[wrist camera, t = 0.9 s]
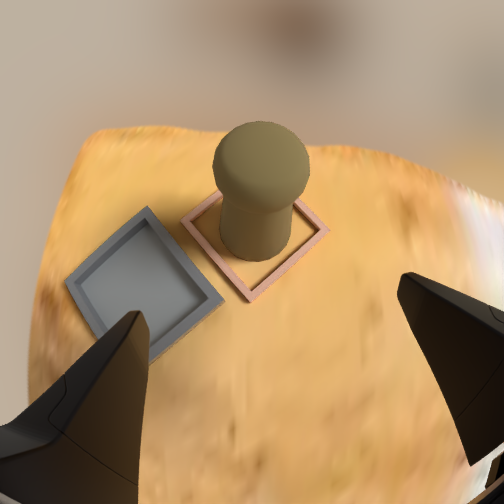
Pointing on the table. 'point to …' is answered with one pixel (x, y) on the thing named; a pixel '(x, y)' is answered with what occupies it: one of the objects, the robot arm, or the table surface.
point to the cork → (259, 187)
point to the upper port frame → (223, 265)
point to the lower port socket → (143, 284)
